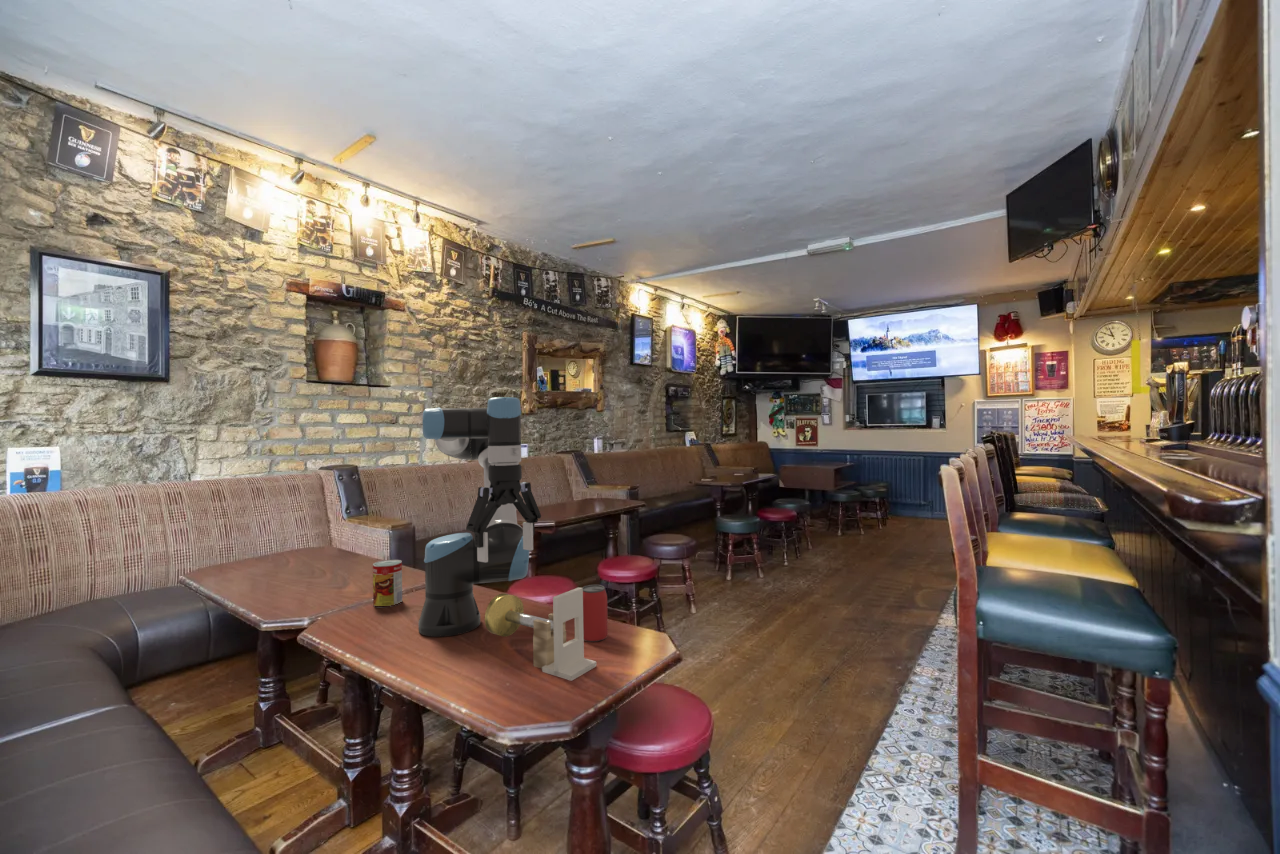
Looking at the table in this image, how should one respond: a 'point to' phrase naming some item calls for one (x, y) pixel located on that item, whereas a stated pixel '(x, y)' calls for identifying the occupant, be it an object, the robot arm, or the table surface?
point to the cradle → (544, 642)
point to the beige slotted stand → (571, 653)
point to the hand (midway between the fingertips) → (506, 555)
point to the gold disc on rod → (508, 615)
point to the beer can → (595, 613)
